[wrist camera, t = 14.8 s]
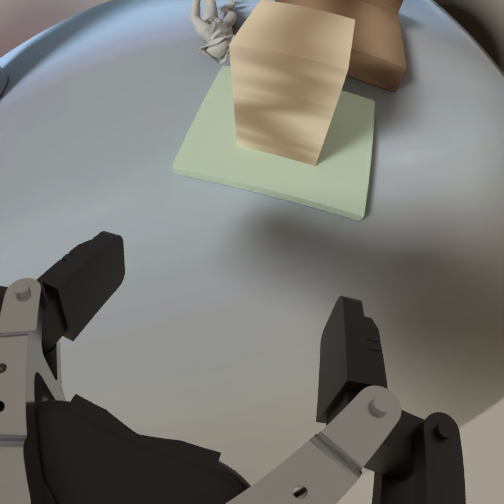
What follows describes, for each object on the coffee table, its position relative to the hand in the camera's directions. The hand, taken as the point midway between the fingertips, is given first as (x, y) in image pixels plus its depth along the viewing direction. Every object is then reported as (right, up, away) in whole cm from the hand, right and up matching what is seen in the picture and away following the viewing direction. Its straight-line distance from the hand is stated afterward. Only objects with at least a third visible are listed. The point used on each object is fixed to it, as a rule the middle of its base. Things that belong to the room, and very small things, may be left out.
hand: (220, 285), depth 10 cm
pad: (+3, +9, +9) cm, 13 cm away
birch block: (+3, +9, +8) cm, 13 cm away
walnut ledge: (+9, +21, +12) cm, 26 cm away
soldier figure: (-2, +21, +12) cm, 24 cm away
